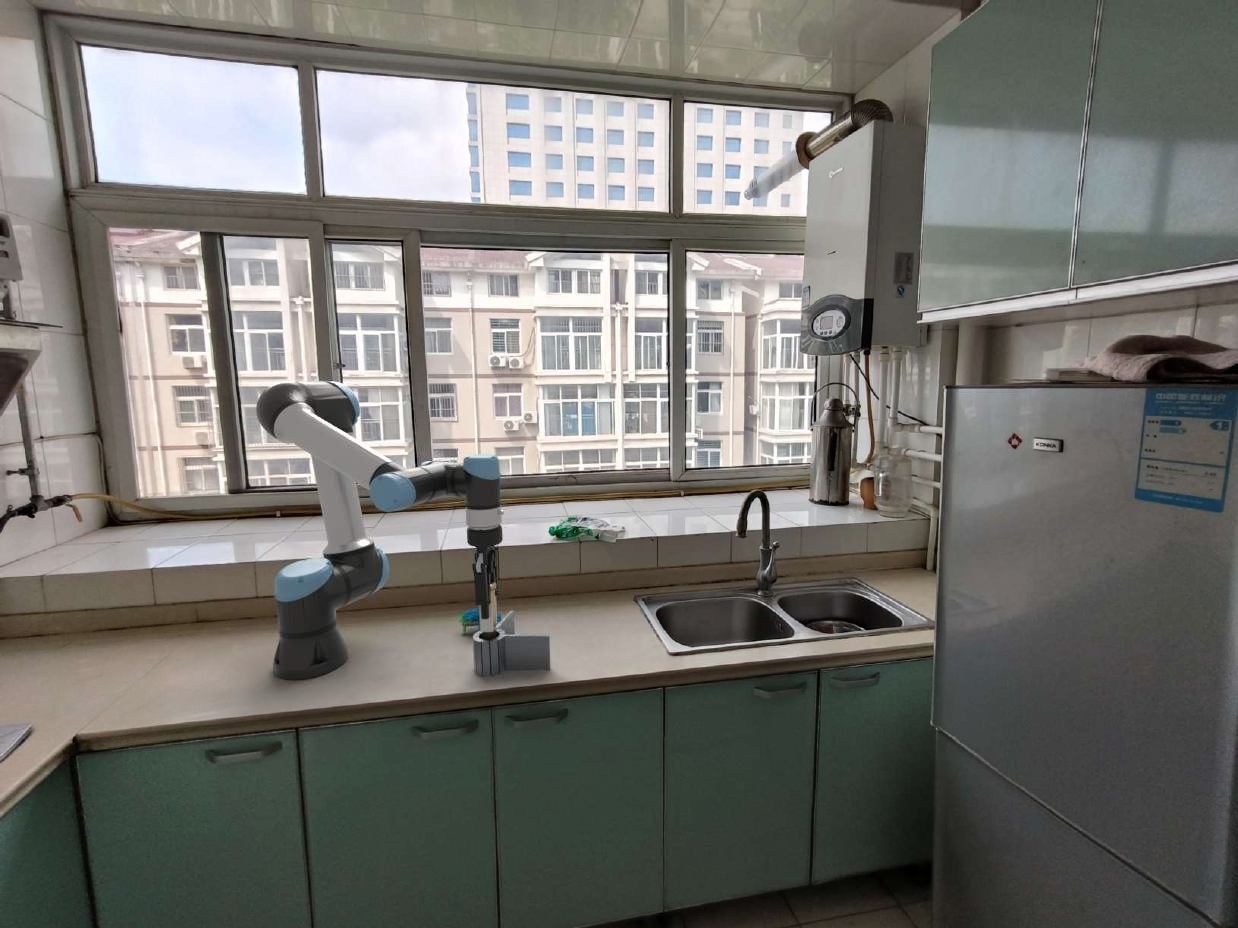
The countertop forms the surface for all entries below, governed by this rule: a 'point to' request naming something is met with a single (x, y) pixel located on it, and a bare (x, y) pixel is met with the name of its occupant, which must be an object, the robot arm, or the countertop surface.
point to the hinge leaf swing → (507, 623)
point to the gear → (473, 619)
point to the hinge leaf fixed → (510, 653)
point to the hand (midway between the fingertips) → (489, 627)
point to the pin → (493, 634)
